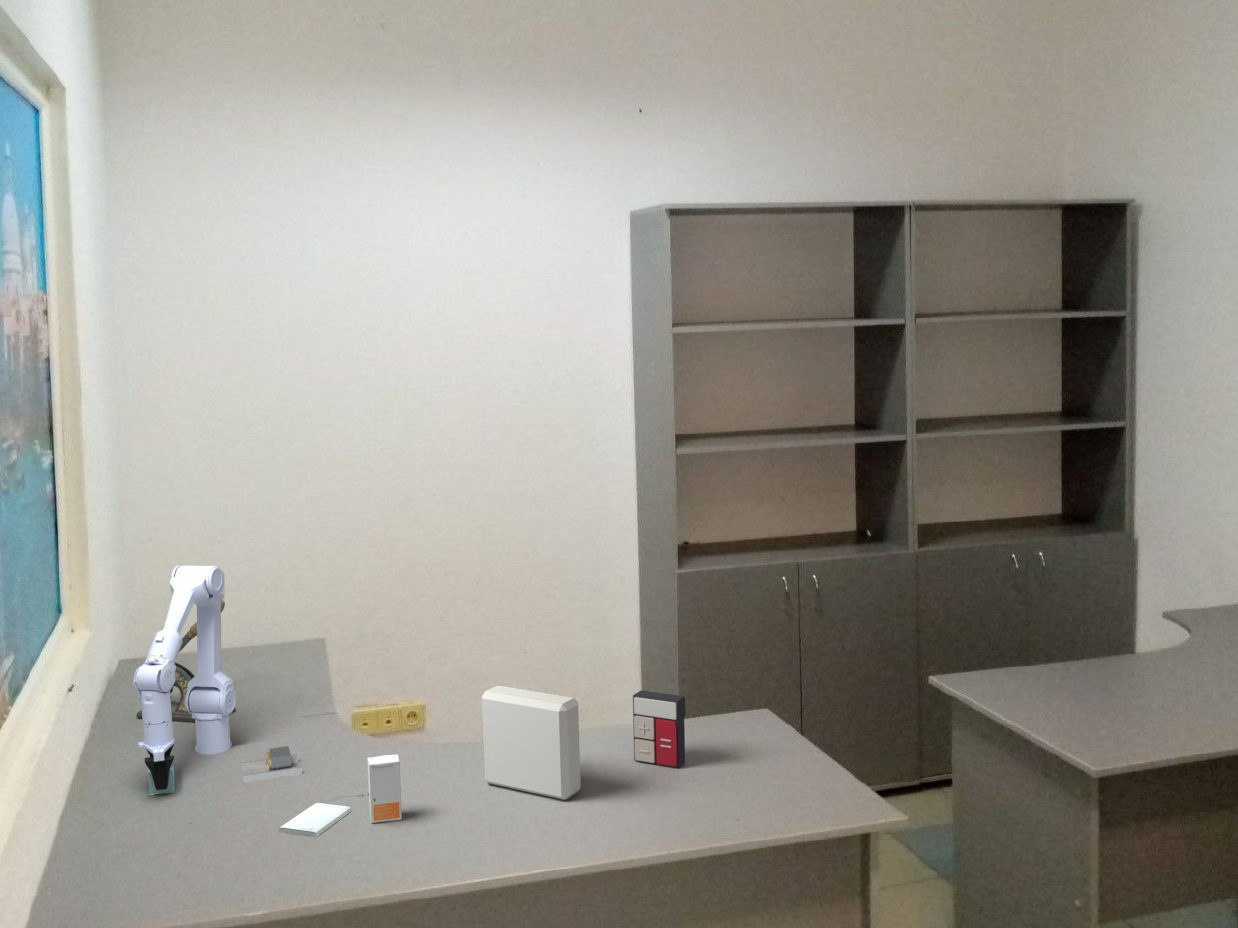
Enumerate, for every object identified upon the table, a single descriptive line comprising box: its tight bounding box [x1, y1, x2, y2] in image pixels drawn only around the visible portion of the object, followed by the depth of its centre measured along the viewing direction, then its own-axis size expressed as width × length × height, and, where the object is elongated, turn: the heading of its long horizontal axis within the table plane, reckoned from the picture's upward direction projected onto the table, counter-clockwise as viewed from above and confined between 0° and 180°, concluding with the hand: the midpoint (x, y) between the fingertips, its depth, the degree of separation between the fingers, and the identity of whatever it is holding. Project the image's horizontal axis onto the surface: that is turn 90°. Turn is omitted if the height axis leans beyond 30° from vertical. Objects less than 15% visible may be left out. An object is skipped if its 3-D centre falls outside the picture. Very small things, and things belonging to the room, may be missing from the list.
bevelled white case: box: [481, 685, 582, 801], centre depth 244 cm, size 21×8×20 cm, turn 59°
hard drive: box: [278, 802, 352, 838], centre depth 230 cm, size 2×8×12 cm
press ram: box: [266, 745, 293, 771], centre depth 254 cm, size 6×5×4 cm
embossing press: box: [136, 599, 237, 723], centre depth 295 cm, size 11×24×30 cm, turn 74°
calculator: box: [632, 689, 686, 769], centre depth 256 cm, size 11×4×15 cm, turn 62°
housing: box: [147, 761, 176, 795], centre depth 248 cm, size 5×5×6 cm
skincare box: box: [366, 754, 402, 824], centre depth 230 cm, size 6×4×12 cm
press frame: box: [240, 753, 303, 783], centre depth 252 cm, size 12×22×3 cm, turn 111°
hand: (161, 782), depth 248 cm, fingers open, 6 cm apart
